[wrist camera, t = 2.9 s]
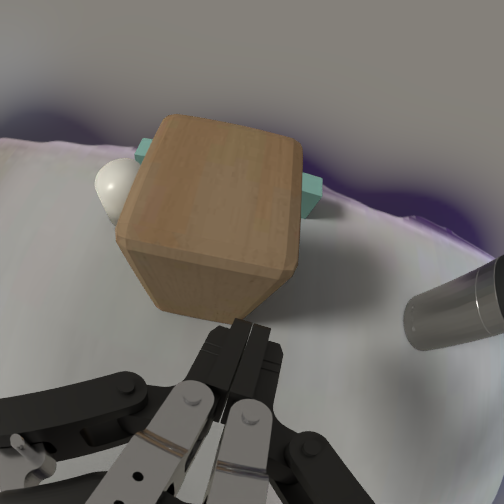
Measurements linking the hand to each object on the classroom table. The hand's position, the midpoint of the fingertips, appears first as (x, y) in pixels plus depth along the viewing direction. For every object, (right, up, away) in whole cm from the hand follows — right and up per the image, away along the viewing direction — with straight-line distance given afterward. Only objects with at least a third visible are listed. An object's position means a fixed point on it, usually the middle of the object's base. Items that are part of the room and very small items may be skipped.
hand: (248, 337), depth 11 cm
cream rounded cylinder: (-16, +9, +23) cm, 30 cm away
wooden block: (-6, 0, +22) cm, 23 cm away
